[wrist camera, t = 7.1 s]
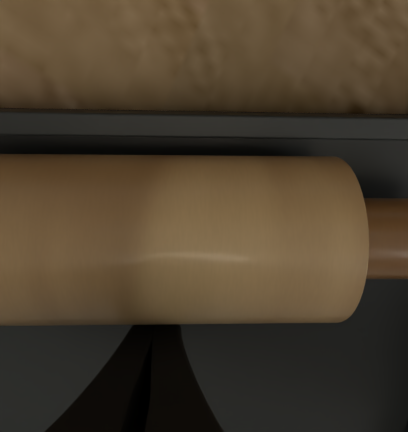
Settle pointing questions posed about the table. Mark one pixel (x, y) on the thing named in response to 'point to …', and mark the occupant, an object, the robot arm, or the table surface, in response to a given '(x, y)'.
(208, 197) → the rolling pin
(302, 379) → the pastry tray
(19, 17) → the table surface
